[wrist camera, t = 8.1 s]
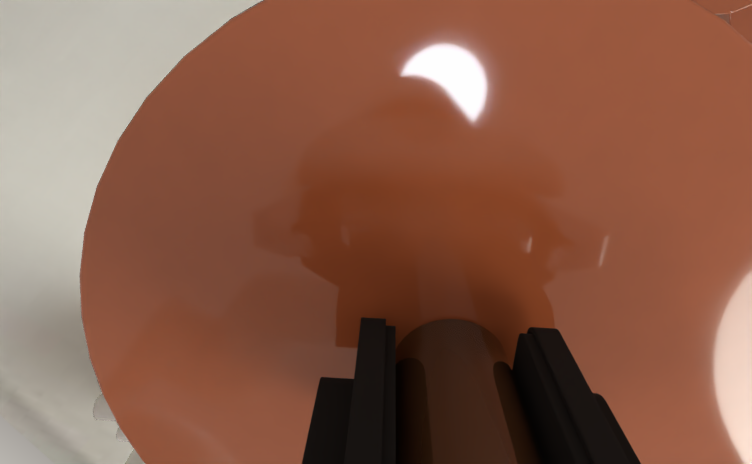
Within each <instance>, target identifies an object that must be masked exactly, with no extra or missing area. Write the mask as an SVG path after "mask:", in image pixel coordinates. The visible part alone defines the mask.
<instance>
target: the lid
mask: <svg viewBox="0 0 752 464" xmlns="http://www.w3.org/2000/svg"><path fill="white" fill-rule="evenodd" d="M80 294H81V316H82V322H83V327H84V332H85V337H86V342H87V348H88V353H89V358H90V360H91V363H92V366H93V369H94V372H95V375H96V377H97V380H98V383H99V386H100V389H101V392H102V394H103V396H104V398H105V400H106V402H107V404H108V406H109V408H110V410H111V412H112V414H113V416H114V418H115V420H116V422H117V423H118V425H119V427H120V429H121V431H122V432H123V434H124V435H125V436H126V438H127V439H128V441H129V442H130V444H131V445H132V447H133V448H134V449H135V451H136V452H137V454H138V455H139V457H140V458H141V460H142V461H143V462H144V463H145V464H302V460H303V455H304V451H305V446H306V441H307V436H308V432H309V427H310V422H311V418H312V413H313V408H314V404H315V399H316V394H317V390H318V385H319V381H320V378H321V377H331V378H348V379H354V375H355V366H356V357H357V349H358V340H359V332H360V323H361V317H365V318H382V319H386V325H387V326H396V464H543V461H542V458H541V455H540V452H539V449H538V446H537V443H536V440H535V437H534V434H533V431H532V429H531V426H530V423H529V420H528V417H527V414H526V411H525V408H524V405H523V402H522V399H521V396H520V393H519V390H518V387H517V384H516V381H515V378H514V375H513V372H512V367H513V362H514V357H515V351H516V346H517V341H518V337H519V334H520V333H527V331H528V329H529V328H530V327H540V328H556V329H558V330H559V332H560V333H561V335H562V337H563V339H564V341H565V343H566V344H567V346H568V348H569V350H570V352H571V354H572V356H573V357H574V359H575V361H576V363H577V365H578V367H579V369H580V371H581V372H582V374H583V376H584V378H585V380H586V382H587V384H588V385H589V387H590V389H591V391H592V393H598V394H600V395H601V396H603V398H604V399H605V400H606V402H607V404H608V406H609V407H610V409H611V411H612V413H613V414H614V416H615V418H616V420H617V422H618V423H619V425H620V427H621V429H622V430H623V432H624V434H625V436H626V438H627V439H628V441H629V443H630V445H631V447H632V448H633V450H634V452H635V454H636V455H637V457H638V459H639V461H640V463H641V464H752V44H751V43H750V42H749V41H748V40H747V39H745V38H744V37H743V36H742V35H741V34H740V33H738V32H737V31H736V30H735V29H734V28H733V27H732V26H730V25H729V24H728V23H727V22H726V21H725V20H723V19H722V18H721V17H719V16H717V15H716V14H714V13H712V12H711V11H709V10H707V9H706V8H704V7H702V6H701V5H699V4H698V3H696V2H694V1H693V0H263V1H261V2H259V3H257V4H256V5H254V6H252V7H250V8H249V9H247V10H245V11H244V12H242V13H240V14H238V15H237V16H235V17H233V18H231V19H230V20H229V21H228V22H226V23H225V24H224V25H223V26H221V27H220V28H219V29H218V30H216V31H215V32H214V33H213V34H211V35H210V36H209V37H208V38H206V39H205V40H204V41H203V42H201V43H200V44H199V45H198V46H196V47H195V48H194V49H192V50H191V51H190V52H189V53H187V54H186V55H185V56H184V57H183V58H182V59H181V60H180V61H179V62H178V64H177V65H176V66H175V67H174V68H173V69H172V70H171V71H170V72H169V73H168V74H167V76H166V77H165V78H164V79H163V80H162V81H161V82H160V83H159V84H158V85H157V86H156V88H155V89H154V90H153V91H152V92H151V93H150V94H149V95H148V96H147V97H146V99H145V100H144V102H143V103H142V105H141V107H140V108H139V110H138V111H137V113H136V114H135V116H134V117H133V119H132V120H131V122H130V123H129V125H128V126H127V128H126V129H125V131H124V132H123V134H122V135H121V137H120V138H119V140H118V141H117V144H116V146H115V148H114V150H113V152H112V154H111V157H110V159H109V161H108V163H107V165H106V168H105V170H104V172H103V174H102V176H101V179H100V181H99V183H98V185H97V188H96V192H95V196H94V199H93V203H92V206H91V210H90V214H89V217H88V221H87V225H86V228H85V232H84V241H83V250H82V259H81V268H80Z"/></svg>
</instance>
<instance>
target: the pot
mask: <svg viewBox="0 0 752 464" xmlns="http://www.w3.org/2000/svg"><path fill="white" fill-rule="evenodd" d="M693 1H694V2H696V3H698V4H699V5H701V6H702V7H704V8H706V9H707V10H709V11H711V12H712V13H714V14H716V15H717V16H719V17H721V18H722V19H723V20H725V21H726V22H727V23H728V24H729V25H730V26H732V27H733V28H734V29H735V30H736V31H737V32H738V33H740V34H741V35H742V36H743V37H744V38H745V39H747V40H748V41H749V42H750V43H751V44H752V0H693Z"/></svg>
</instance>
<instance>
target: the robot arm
mask: <svg viewBox="0 0 752 464" xmlns="http://www.w3.org/2000/svg"><path fill="white" fill-rule="evenodd" d="M512 372H513V375H514V378H515V381H516V384H517V387H518V390H519V393H520V396H521V399H522V402H523V405H524V408H525V411H526V414H527V417H528V420H529V423H530V426H531V429H532V431H533V434H534V437H535V440H536V443H537V446H538V449H539V452H540V455H541V458H542V461H543V464H641V463H640V461H639V459H638V457H637V455H636V454H635V452H634V450H633V448H632V447H631V445H630V443H629V441H628V439H627V438H626V436H625V434H624V432H623V430H622V429H621V427H620V425H619V423H618V422H617V420H616V418H615V416H614V414H613V413H612V411H611V409H610V407H609V406H608V404H607V402H606V400H605V399H604V398H603V396H601V395H600V394H598V393H592V391H591V389H590V387H589V385H588V384H587V382H586V380H585V378H584V376H583V374H582V372H581V371H580V369H579V367H578V365H577V363H576V361H575V359H574V357H573V356H572V354H571V352H570V350H569V348H568V346H567V344H566V343H565V341H564V339H563V337H562V335H561V333H560V332H559V330H558V329H556V328H540V327H530V328H529V329H528V331H527V333H520V334H519V337H518V341H517V346H516V351H515V357H514V362H513V367H512ZM93 416H94V418H95V419H96V420H110V421H116V420H115V418H114V416H113V414H112V412H111V410H110V408H109V406H108V404H107V402H106V400H105V398H104V396H103V394H101V395H99V397H98V398H97V399H96V402H95V404H94V408H93ZM116 438H117V440H118V441H125V442H129V441H128V439H127V438H126V436H125V435H124V434H123V432H122V431H121V429H120V427H119V428H118V430H117V434H116ZM125 464H145V463H144V462H143V461H142V460H141V458H140V457H139V455H138V454H137V452H136V451H135V449H133V451H132V453H131V454H130V456H129V458H128V459H127V461H126V462H125ZM302 464H396V326H387V325H386V319H382V318H365V317H361V323H360V332H359V340H358V349H357V357H356V366H355V375H354V379H348V378H331V377H321V378H320V381H319V385H318V390H317V394H316V399H315V404H314V408H313V413H312V418H311V422H310V427H309V432H308V436H307V441H306V446H305V451H304V455H303V460H302Z"/></svg>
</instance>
